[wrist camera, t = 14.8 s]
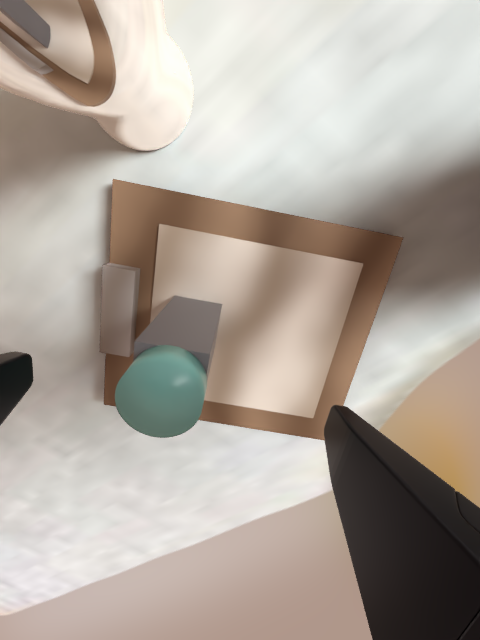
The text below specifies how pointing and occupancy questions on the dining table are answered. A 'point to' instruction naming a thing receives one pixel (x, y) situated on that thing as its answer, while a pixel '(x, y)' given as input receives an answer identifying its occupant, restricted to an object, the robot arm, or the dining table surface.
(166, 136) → the metal tumbler
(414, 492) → the robot arm
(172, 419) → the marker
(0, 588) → the dining table surface
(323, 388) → the wooden tray
